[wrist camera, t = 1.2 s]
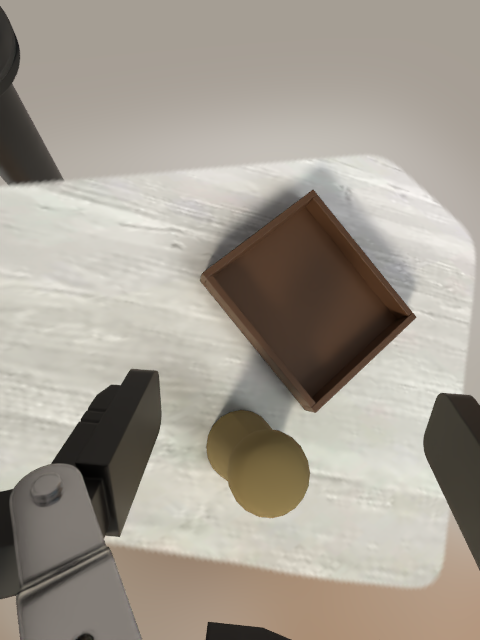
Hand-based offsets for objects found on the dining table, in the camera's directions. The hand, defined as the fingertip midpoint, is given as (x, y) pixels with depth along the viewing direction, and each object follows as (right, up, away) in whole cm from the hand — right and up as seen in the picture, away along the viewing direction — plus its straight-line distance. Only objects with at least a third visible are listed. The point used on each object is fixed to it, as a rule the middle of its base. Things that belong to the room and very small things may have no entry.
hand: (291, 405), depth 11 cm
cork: (-1, -8, +22) cm, 24 cm away
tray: (+5, +4, +25) cm, 26 cm away
